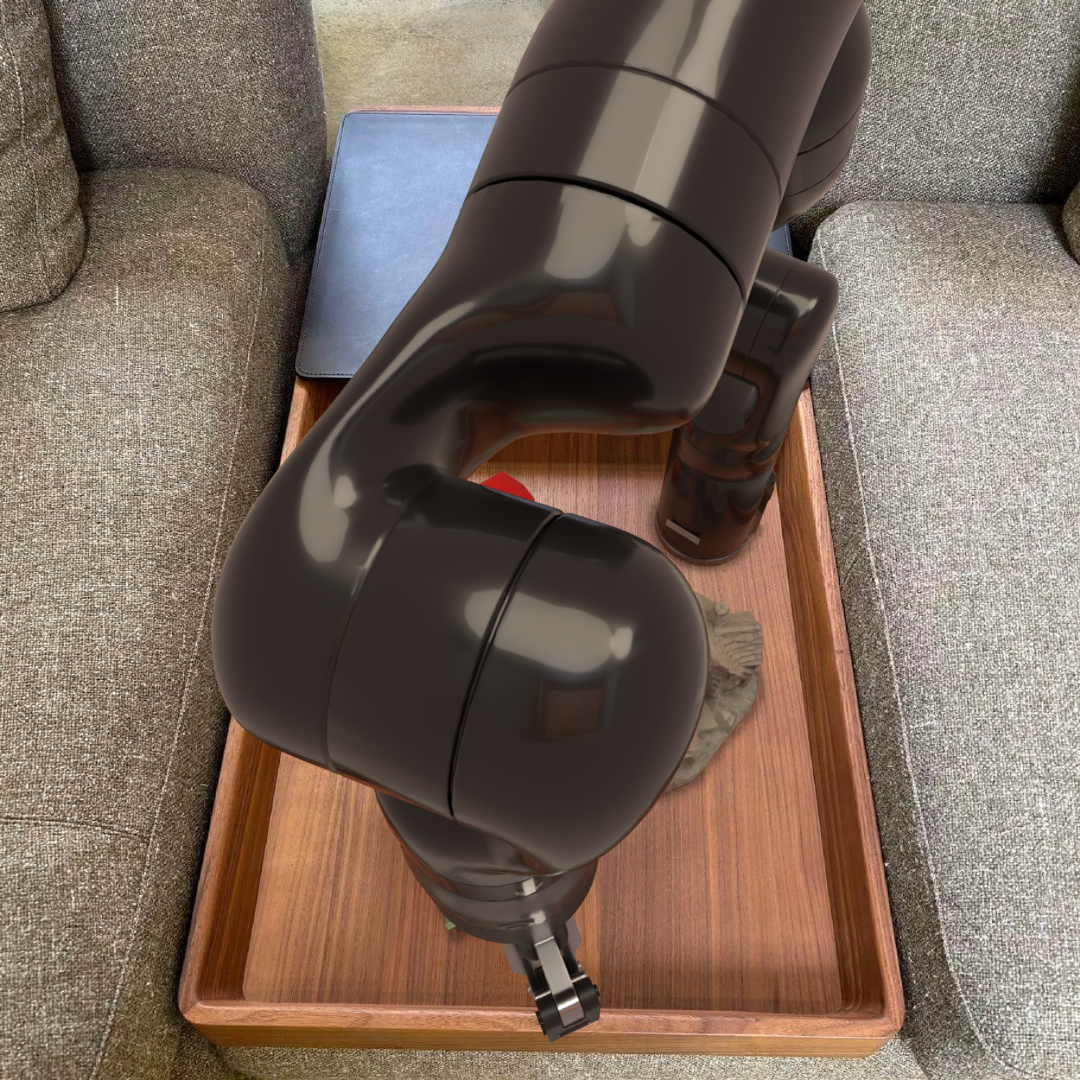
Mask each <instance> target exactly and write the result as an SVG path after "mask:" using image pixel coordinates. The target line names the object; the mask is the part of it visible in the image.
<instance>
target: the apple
mask: <svg viewBox="0 0 1080 1080" xmlns="http://www.w3.org/2000/svg"><path fill="white" fill-rule="evenodd" d="M479 484H481V485H484V486H488V487H491V488H494V489H497V490H500V491H503V492H507V493H510V494H513V495H516V496H519V497H523V498H526V499H529V500H532V501H535V502H536V499H535V497H534V496H533V494H532V493H531V492H530V491H529V490H528V489H527V487H526V485H524V484H523V483H522V482H520V481H519V480H517V479H515V478H514V477H512V476H511V475H509V474H508V473H506V472H505V471H503V470H501V471H499V472H498V473H495V474H494V475H492V476H490V477H489V478H487V479H485V480H483V481H482V482H480V483H479Z"/></svg>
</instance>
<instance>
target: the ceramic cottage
mask: <svg viewBox="0 0 1080 1080" xmlns="http://www.w3.org/2000/svg"><path fill="white" fill-rule="evenodd" d="M693 591H694V593H695V595H696V597H697V599H698V601H699V603H700V606H701V609H702V613H703V616H704V620H705V623H706V626H707V631H708V636H709V648H710V670H709V679H708V686H707V692H706V697H705V702H704V706H703V710H702V714H701V717H700V721H699V723H698V726H697V729H696V732H695V735H694V737H693V739H692V742H691V744H690V746H689V749H688V751H687V753H686V755H685V757H684V759H683V761H682V763H681V765H680V767H679V769H678V771H677V772H676V774H675V776H674V778H673V779H672V781H671V783H670V784H669V786H668V787H667V789H666V790H665V791H664V793H668V792H669V791H671V790H676V789H678V788H679V787H680V788H681V787H682V786H684V785H687V784H690V783H691V782H693V781H694V780H695V779H696V778H697V777H698V776H699V775H700V773H701V772H702V771H704V769H705V767H707V765H708V764H709V763H710V761H711V760H712V758H713V757H714V755H715V754H716V753H717V751H718V750H719V749H720V748H721V746H722V744H724V743H725V742H726V740H727V739H728V737H729V735H730V734H732V732H733V731H734V730H735V728H736V727H737V726H738V725H739V724H740V723H741V721H742V720H743V719H744V718H745V716H746V715H747V714H748V713H749V711H750V710H752V707H753V704H754V702H755V700H756V698H757V693H758V677H757V675H756V674H757V673H758V671H759V668H760V666H762V665H764V648H765V647H764V634H763V628H762V624H761V622H759V621H758V620H757V619H756V617H755V616H754V615H753V614H752V612H751V611H748V610H745V611H738V612H730V611H731V608H730V605H729V604H727V602H726V601H725V600H724V601H717V602H716V601H714V600H712V599H710V598H708V597H707V596H706V595H704V594H702V593H700V592H697V591H695V590H693Z"/></svg>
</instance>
